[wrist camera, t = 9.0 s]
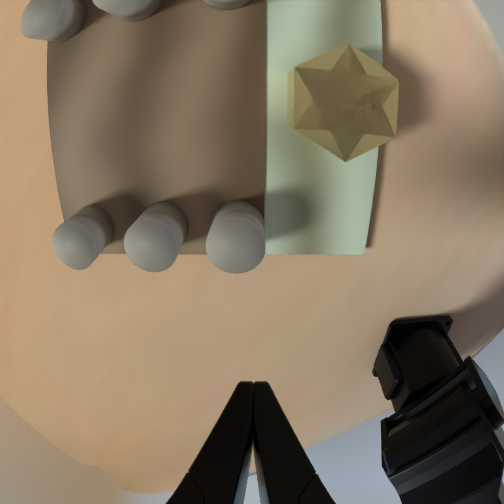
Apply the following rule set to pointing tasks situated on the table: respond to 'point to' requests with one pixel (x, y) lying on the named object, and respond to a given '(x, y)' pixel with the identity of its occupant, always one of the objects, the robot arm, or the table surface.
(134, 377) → the table surface
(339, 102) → the hexagonal box
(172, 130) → the board
